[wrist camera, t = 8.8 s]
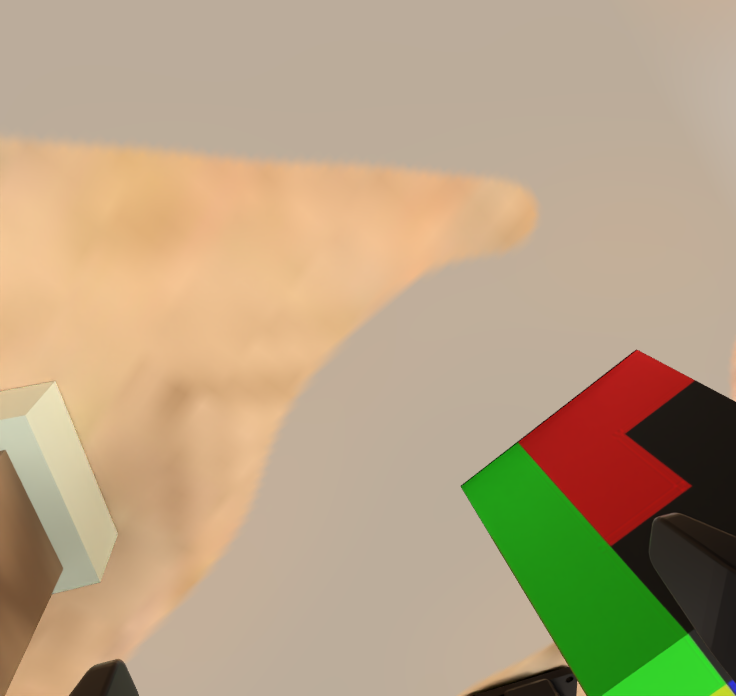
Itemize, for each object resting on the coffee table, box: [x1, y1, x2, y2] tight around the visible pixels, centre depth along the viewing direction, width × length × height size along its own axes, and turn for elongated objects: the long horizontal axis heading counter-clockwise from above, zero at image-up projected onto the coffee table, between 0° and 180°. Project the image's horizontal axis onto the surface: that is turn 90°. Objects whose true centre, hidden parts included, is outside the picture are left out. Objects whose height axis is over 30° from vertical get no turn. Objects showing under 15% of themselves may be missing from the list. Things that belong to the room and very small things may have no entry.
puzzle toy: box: [461, 350, 736, 696], centre depth 20 cm, size 10×10×10 cm
